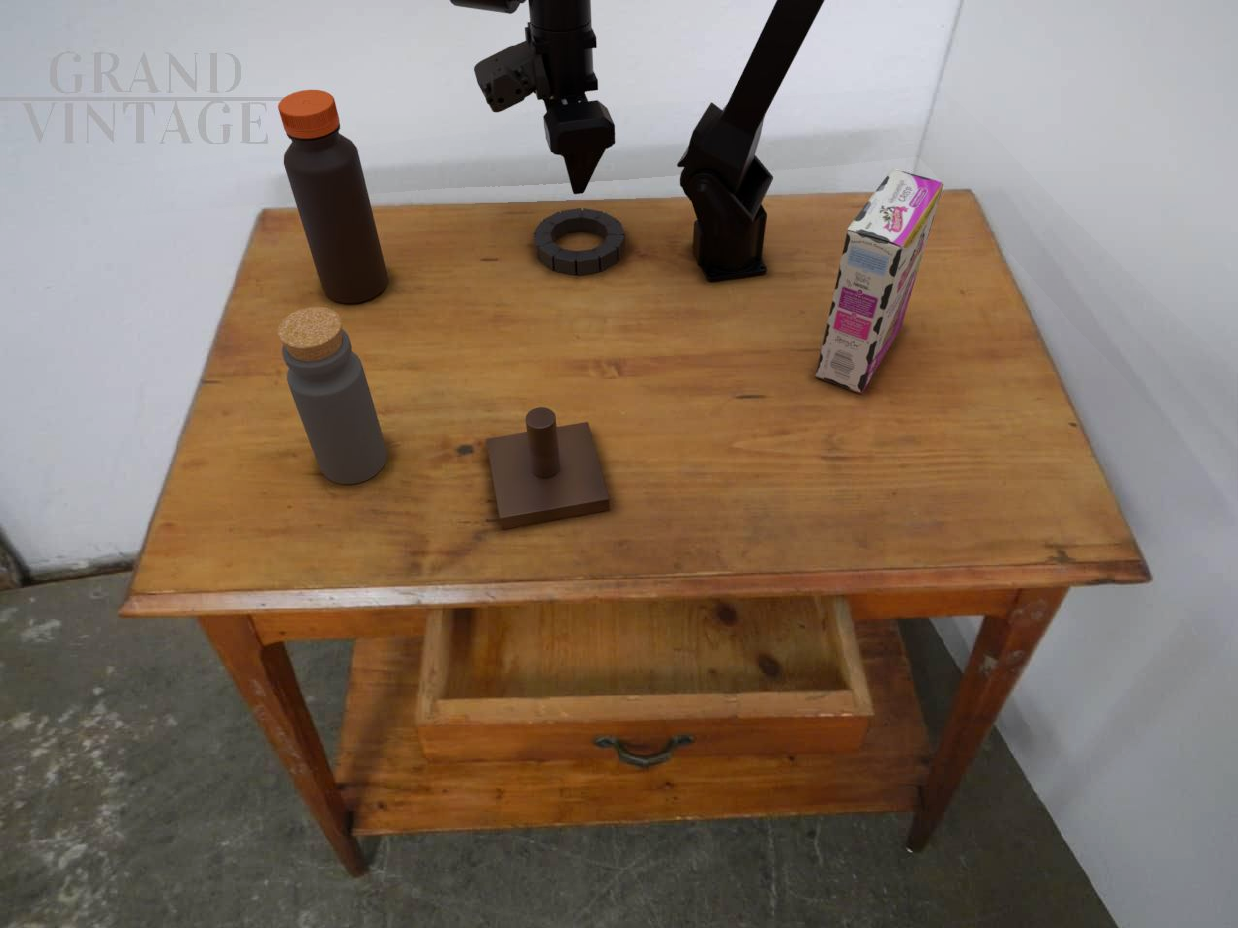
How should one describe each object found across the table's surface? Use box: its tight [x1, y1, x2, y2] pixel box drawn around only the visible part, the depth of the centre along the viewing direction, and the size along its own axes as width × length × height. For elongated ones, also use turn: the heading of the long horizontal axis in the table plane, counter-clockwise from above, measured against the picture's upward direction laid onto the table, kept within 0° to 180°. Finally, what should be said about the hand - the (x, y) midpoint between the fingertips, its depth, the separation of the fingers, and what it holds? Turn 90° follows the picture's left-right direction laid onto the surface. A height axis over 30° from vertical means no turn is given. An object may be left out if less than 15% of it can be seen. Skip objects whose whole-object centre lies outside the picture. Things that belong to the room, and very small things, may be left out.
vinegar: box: [277, 89, 389, 304], centre depth 90 cm, size 7×7×20 cm
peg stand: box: [485, 406, 611, 530], centre depth 77 cm, size 9×9×8 cm
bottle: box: [277, 306, 388, 485], centre depth 76 cm, size 6×6×15 cm
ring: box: [533, 207, 626, 276], centre depth 101 cm, size 10×10×2 cm
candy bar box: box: [815, 168, 945, 394], centre depth 84 cm, size 11×5×16 cm, turn 150°
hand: (570, 169), depth 99 cm, fingers open, 9 cm apart
